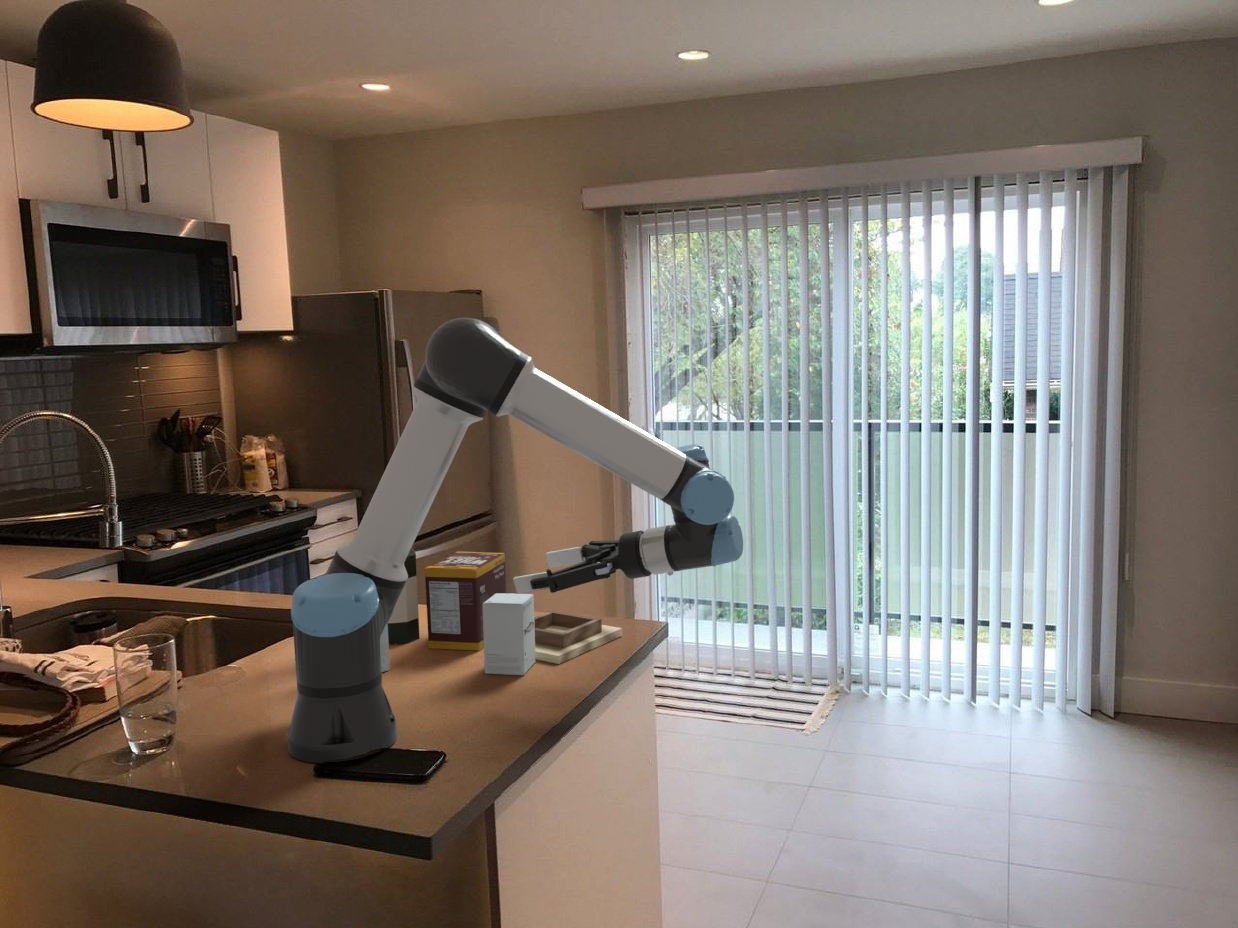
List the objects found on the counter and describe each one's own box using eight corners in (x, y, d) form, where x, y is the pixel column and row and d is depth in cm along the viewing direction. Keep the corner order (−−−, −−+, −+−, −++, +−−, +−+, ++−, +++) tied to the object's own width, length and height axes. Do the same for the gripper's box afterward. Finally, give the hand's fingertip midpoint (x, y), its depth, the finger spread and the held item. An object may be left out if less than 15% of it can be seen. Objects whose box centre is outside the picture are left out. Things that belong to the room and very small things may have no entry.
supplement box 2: (525, 676, 171) (522, 603, 169) (483, 674, 172) (480, 602, 171) (537, 662, 178) (534, 593, 176) (497, 660, 179) (494, 591, 178)
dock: (558, 664, 176) (558, 642, 176) (490, 650, 185) (489, 629, 185) (622, 635, 193) (621, 615, 192) (556, 624, 202) (556, 605, 201)
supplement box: (508, 628, 200) (505, 551, 198) (479, 651, 185) (475, 569, 183) (460, 626, 202) (457, 550, 201) (427, 648, 188) (423, 567, 186)
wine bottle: (426, 632, 198) (419, 482, 195) (412, 644, 190) (404, 488, 187) (386, 631, 199) (378, 482, 196) (370, 644, 191) (362, 489, 188)
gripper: (629, 600, 151) (507, 619, 159) (674, 551, 174) (565, 570, 182) (617, 553, 150) (494, 574, 158) (663, 510, 173) (555, 531, 181)
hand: (532, 572), depth 170 cm, fingers open, 13 cm apart
